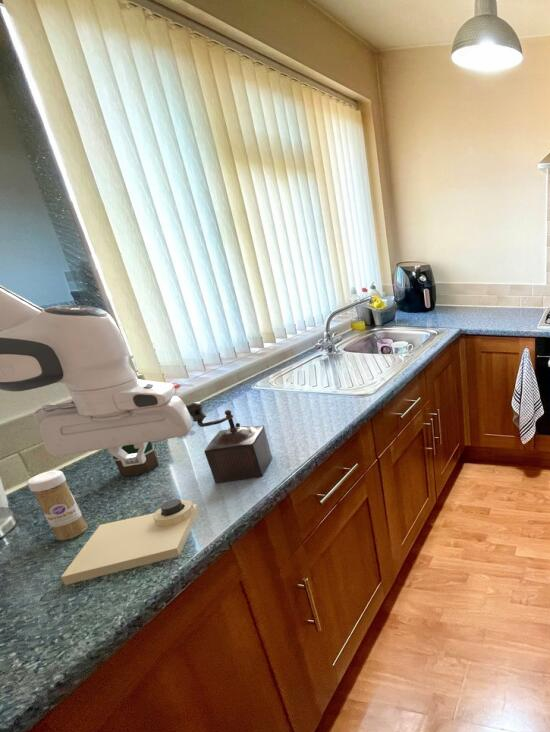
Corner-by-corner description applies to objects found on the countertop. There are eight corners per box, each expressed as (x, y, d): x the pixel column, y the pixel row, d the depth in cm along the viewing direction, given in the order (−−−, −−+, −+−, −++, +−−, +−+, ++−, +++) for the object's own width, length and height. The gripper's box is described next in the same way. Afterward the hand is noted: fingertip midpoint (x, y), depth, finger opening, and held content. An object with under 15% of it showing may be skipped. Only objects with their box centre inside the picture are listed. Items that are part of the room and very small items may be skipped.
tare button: (160, 518, 80) (158, 510, 79) (166, 508, 82) (163, 501, 82) (180, 513, 81) (177, 506, 80) (185, 504, 83) (182, 497, 83)
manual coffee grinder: (274, 454, 108) (258, 392, 101) (263, 477, 98) (244, 410, 91) (207, 463, 104) (185, 399, 97) (188, 488, 94) (163, 419, 87)
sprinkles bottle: (61, 544, 77) (30, 486, 72) (53, 536, 79) (22, 478, 75) (93, 530, 81) (65, 473, 76) (84, 522, 83) (57, 466, 78)
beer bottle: (130, 462, 104) (95, 376, 95) (166, 457, 106) (134, 372, 98) (113, 479, 97) (73, 387, 89) (151, 473, 99) (116, 383, 91)
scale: (64, 585, 68) (56, 569, 67) (103, 532, 80) (96, 518, 79) (180, 556, 74) (174, 541, 73) (199, 510, 86) (195, 497, 85)
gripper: (17, 414, 65) (52, 485, 70) (174, 394, 73) (195, 460, 78) (40, 400, 70) (71, 467, 75) (183, 383, 78) (202, 445, 83)
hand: (135, 463), depth 77 cm, fingers closed
